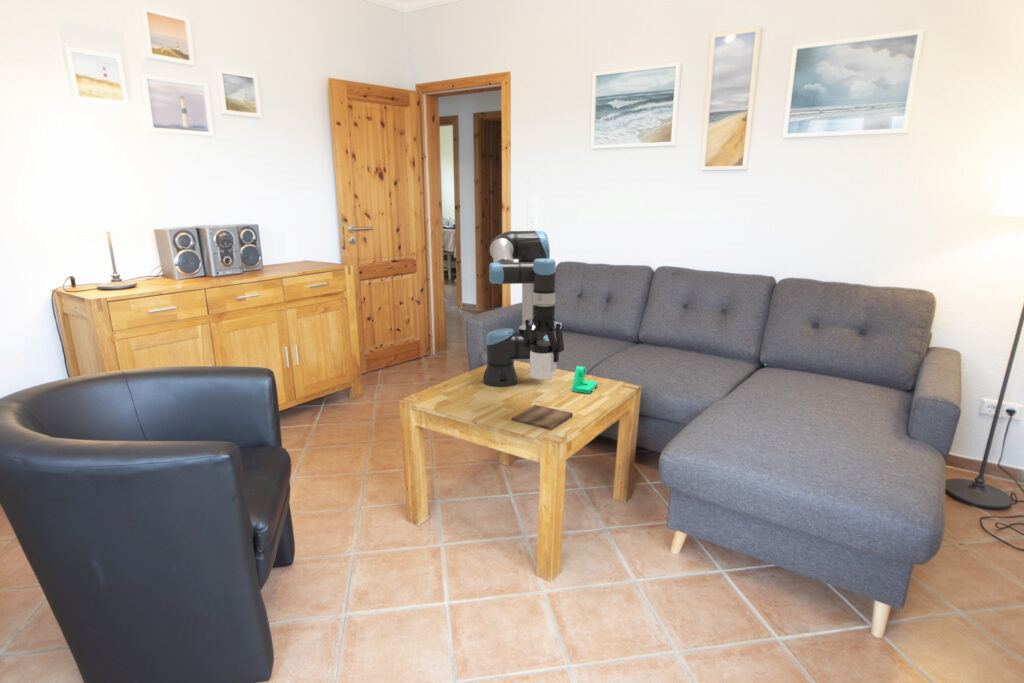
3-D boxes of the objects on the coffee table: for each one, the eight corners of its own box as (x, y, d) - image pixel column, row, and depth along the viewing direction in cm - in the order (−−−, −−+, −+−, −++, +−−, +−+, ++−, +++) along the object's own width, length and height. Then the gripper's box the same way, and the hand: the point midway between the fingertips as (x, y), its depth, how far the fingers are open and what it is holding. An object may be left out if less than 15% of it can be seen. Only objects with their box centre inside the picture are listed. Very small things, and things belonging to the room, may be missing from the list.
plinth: (511, 424, 198) (511, 417, 197) (534, 410, 211) (534, 404, 211) (551, 434, 190) (551, 427, 189) (572, 419, 203) (572, 412, 202)
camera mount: (589, 396, 228) (590, 372, 226) (571, 393, 231) (572, 369, 229) (597, 387, 239) (598, 364, 236) (580, 385, 242) (581, 362, 240)
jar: (532, 380, 192) (533, 346, 189) (527, 373, 200) (527, 341, 197) (557, 378, 194) (558, 345, 191) (551, 372, 201) (551, 340, 199)
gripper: (512, 303, 193) (512, 367, 198) (565, 309, 182) (564, 376, 187) (524, 300, 199) (524, 362, 204) (575, 305, 188) (574, 370, 193)
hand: (543, 368), depth 196 cm, fingers closed on jar, 7 cm apart
